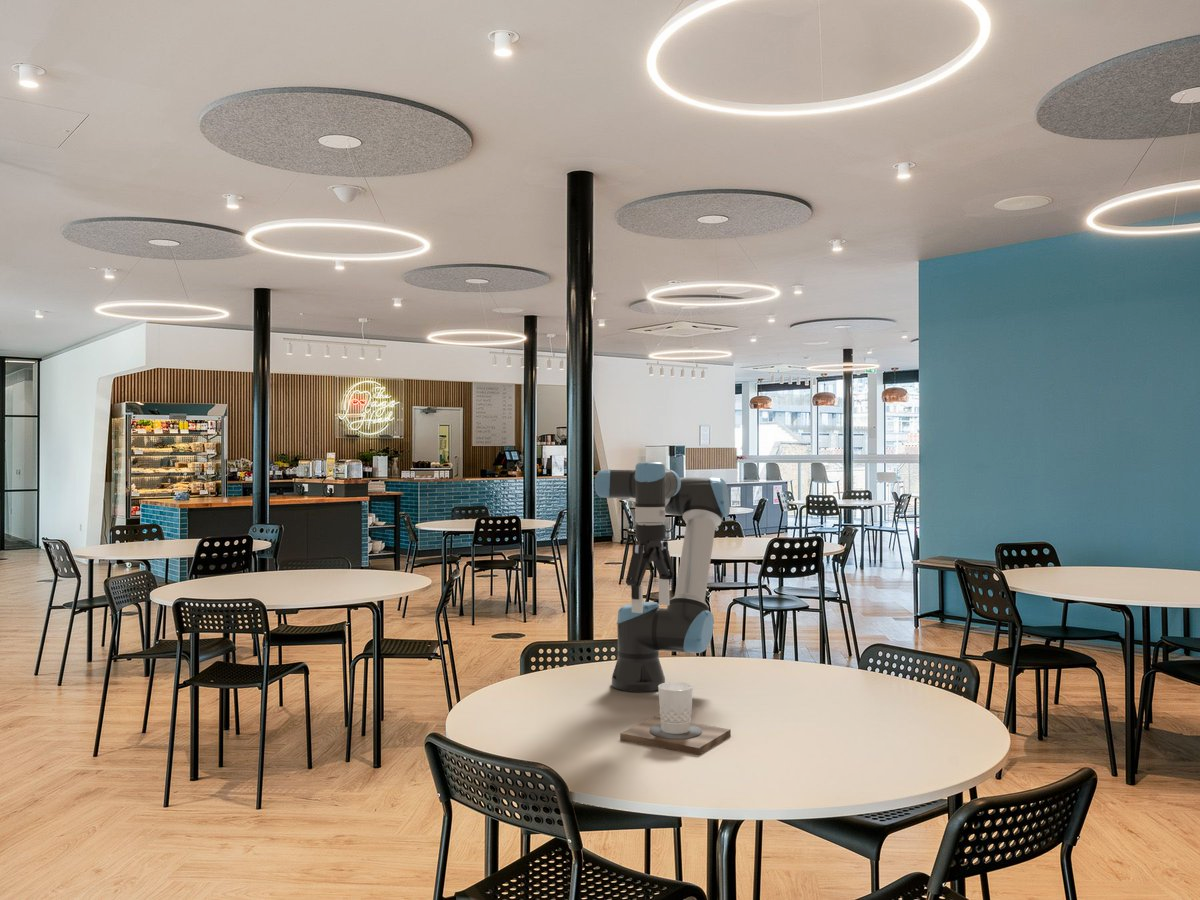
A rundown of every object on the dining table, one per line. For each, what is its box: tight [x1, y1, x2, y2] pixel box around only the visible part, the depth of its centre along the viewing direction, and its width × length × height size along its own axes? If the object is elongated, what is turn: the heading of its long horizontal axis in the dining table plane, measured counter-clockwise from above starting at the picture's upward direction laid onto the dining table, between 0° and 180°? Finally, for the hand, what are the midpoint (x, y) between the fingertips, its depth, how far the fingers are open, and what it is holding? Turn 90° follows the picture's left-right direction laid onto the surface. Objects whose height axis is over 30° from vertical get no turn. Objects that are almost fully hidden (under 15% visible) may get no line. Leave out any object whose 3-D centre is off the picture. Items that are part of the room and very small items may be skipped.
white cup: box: [657, 681, 694, 734], centre depth 205 cm, size 8×8×10 cm
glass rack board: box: [619, 716, 732, 756], centre depth 205 cm, size 16×20×2 cm
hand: (651, 608), depth 224 cm, fingers open, 13 cm apart
